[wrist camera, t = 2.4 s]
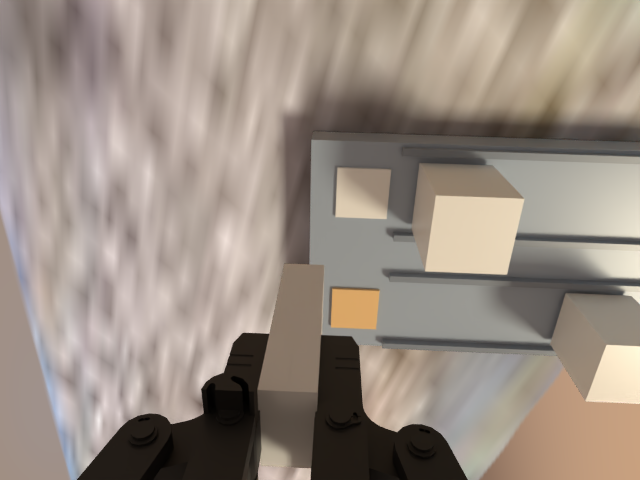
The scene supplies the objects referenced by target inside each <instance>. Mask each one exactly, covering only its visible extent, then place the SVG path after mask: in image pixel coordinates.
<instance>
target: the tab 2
mask: <svg viewBox="0 0 640 480" xmlns="http://www.w3.org/2000/svg"><path fill="white" fill-rule="evenodd" d="M550 345H551V346H552V348H553V350H554V351H555V353H556V354H557V356H558V358H559V359H560V361H561V362H562V364H563V366H564V367H565V369H566V371H567V372H568V374H569V375H570V377H571V379H572V380H573V382H574V383H575V385H576V387H577V388H578V390H579V392H580V393H581V395H582V396H583V398H584V400H585V401H592V402H612V403H613V402H615V403H634V404H640V304H639V303H638V302H637V301H636V300H635V299H634V298H633V297H632V296H626V295H602V294H578V293H566V294H565V297H564V300H563V304H562V307H561V310H560V314H559V317H558V320H557V323H556V327H555V330H554V333H553V336H552V340H551V343H550Z"/></svg>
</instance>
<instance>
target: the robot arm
mask: <svg viewBox="0 0 640 480" xmlns="http://www.w3.org/2000/svg"><path fill="white" fill-rule="evenodd" d="M323 294H324V265H311V264H284V268H283V273H282V277H281V282H280V287H279V291H278V296H277V301H276V305H275V310H274V315H273V319H272V324H271V329H270V333H269V334H260V333H242V334H241V335H240V337H239V338H238V339H237V340H236V341H235V342H234V343H233V346H232V349H231V352H230V356H229V358H228V362H227V366H226V368H225V371H224V373H222V374H219V375H217V376H214V377H212V378H211V379H210V380H208V381H207V382H206V383H205V384H204V386H203V388H202V389H201V391H202V400H203V408H204V414H203V415H201V416H199V417H197V418H195V419H192V420H189V421H185V422H180V423H176V424H170V422H169V421H168V419H167V418H166V417H163V416H161V415H159V414H145V415H140V416H137V417H135V418H133V419H131V420H129V421H128V422H127V423H125V424H124V425H123V426H122V427H121V428H120V429H119V430H118V431H117V433H116V434H115V435H114V436H113V437H112V439H111V440H110V441H109V442H108V443H107V445H106V446H105V447H104V448H103V449H102V450H101V452H100V453H99V454H98V455H97V456H96V458H95V459H94V460H93V461H92V462H91V464H90V465H89V466H88V467H87V468H86V470H85V471H84V472H83V473H82V474H81V476H80V477H79V478H78V479H77V480H258V467H259V462H260V460H261V466H275V467H297V468H311V480H468V479H467V478H466V476H465V474H464V472H463V470H462V468H461V467H460V465H459V463H458V461H457V459H456V457H455V456H454V454H453V452H452V450H451V448H450V446H449V444H448V443H447V441H446V440H445V439H444V437H443V436H442V435H441V434H440V433H439V432H437V431H436V430H434V429H433V428H431V427H428V426H425V425H422V424H411V425H408V426H405V427H403V428H401V429H400V430H399V431H398V432H394V431H391V430H388V429H385V428H383V427H380V426H378V425H377V424H375V423H374V422H372V421H371V420H370V419H369V418H368V417H367V415H366V413H365V412H364V409H363V404H362V388H361V373H360V357H359V346H358V345H357V343H356V342H355V340H354V339H353V337H352V336H334V335H322V325H323Z"/></svg>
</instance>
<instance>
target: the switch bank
mask: <svg viewBox="0 0 640 480" xmlns="http://www.w3.org/2000/svg"><path fill="white" fill-rule="evenodd" d="M419 163H440V164H469V165H493V166H494V167H495V168H496V169H497V170H498V171H499V172H500V173H501V175H502V176H503V177H504V178H505V179H506V180H507V181H508V182H509V183H510V184H511V185H512V186H513V187H514V188H515V189H516V190H517V191H518V192H519V193H520V194H521V195H522V196H523V198H524V204H523V208H522V212H521V216H520V221H519V225H518V229H517V233H516V238H515V242H514V246H513V251H512V255H511V259H510V263H509V268H508V272H507V275H501V274H476V273H451V272H427V271H425V270H424V267H423V263H422V260H421V257H420V254H419V251H418V248H417V244H416V241H415V238H414V235H413V232H412V229H411V228H412V220H413V212H414V203H415V195H416V187H417V179H418V171H419ZM309 264H311V265H324V294H323V325H322V335H334V336H352V337H353V339H354V340H355V342H356V343H357V345H376V346H382V348H388V349H411V350H433V351H455V352H477V353H500V354H522V355H544V356H557V354H556V353H555V351H554V350H553V348H552V346H551V345H550V343H551V340H552V336H553V333H554V330H555V327H556V323H557V320H558V317H559V314H560V310H561V307H562V304H563V300H564V297H565V294H566V293H578V294H602V295H626V296H632V297H633V298H634V299H635V300H636V301H637V302H638V303H639V304H640V142H625V141H595V140H565V139H535V138H504V137H474V136H444V135H414V134H384V133H354V132H324V131H313V134H312V139H311V192H310V256H309Z"/></svg>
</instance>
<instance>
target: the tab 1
mask: <svg viewBox="0 0 640 480" xmlns="http://www.w3.org/2000/svg"><path fill="white" fill-rule="evenodd" d="M523 204H524V198H523V196H522V195H521V194H520V193H519V192H518V191H517V190H516V189H515V188H514V187H513V186H512V185H511V184H510V183H509V182H508V181H507V180H506V179H505V178H504V177H503V176H502V175H501V173H500V172H499V171H498V170H497V169H496V168H495V167H494V166H493V165H469V164H440V163H419V171H418V179H417V187H416V195H415V203H414V212H413V220H412V228H411V229H412V232H413V235H414V238H415V241H416V244H417V248H418V251H419V254H420V257H421V260H422V263H423V267H424V270H425V271H427V272H451V273H476V274H501V275H507V272H508V268H509V263H510V259H511V255H512V251H513V246H514V242H515V238H516V233H517V229H518V225H519V221H520V216H521V212H522V208H523Z"/></svg>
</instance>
